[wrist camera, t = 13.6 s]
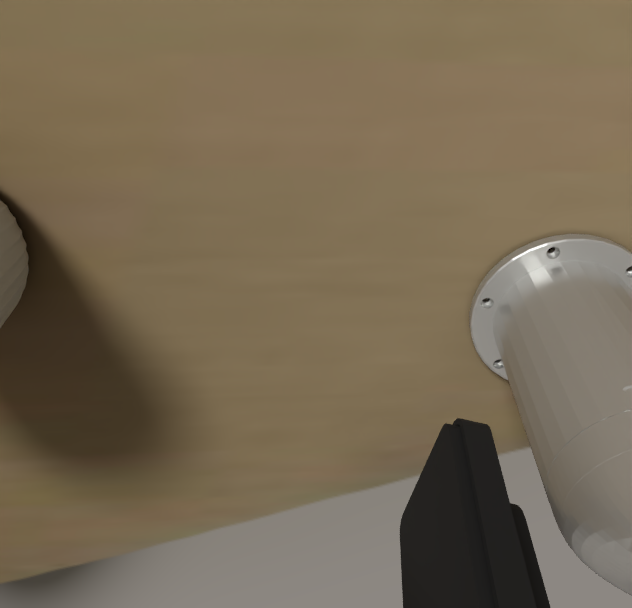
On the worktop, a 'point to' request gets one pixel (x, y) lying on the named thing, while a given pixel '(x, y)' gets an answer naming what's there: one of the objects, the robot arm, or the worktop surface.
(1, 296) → the canister
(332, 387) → the worktop surface
